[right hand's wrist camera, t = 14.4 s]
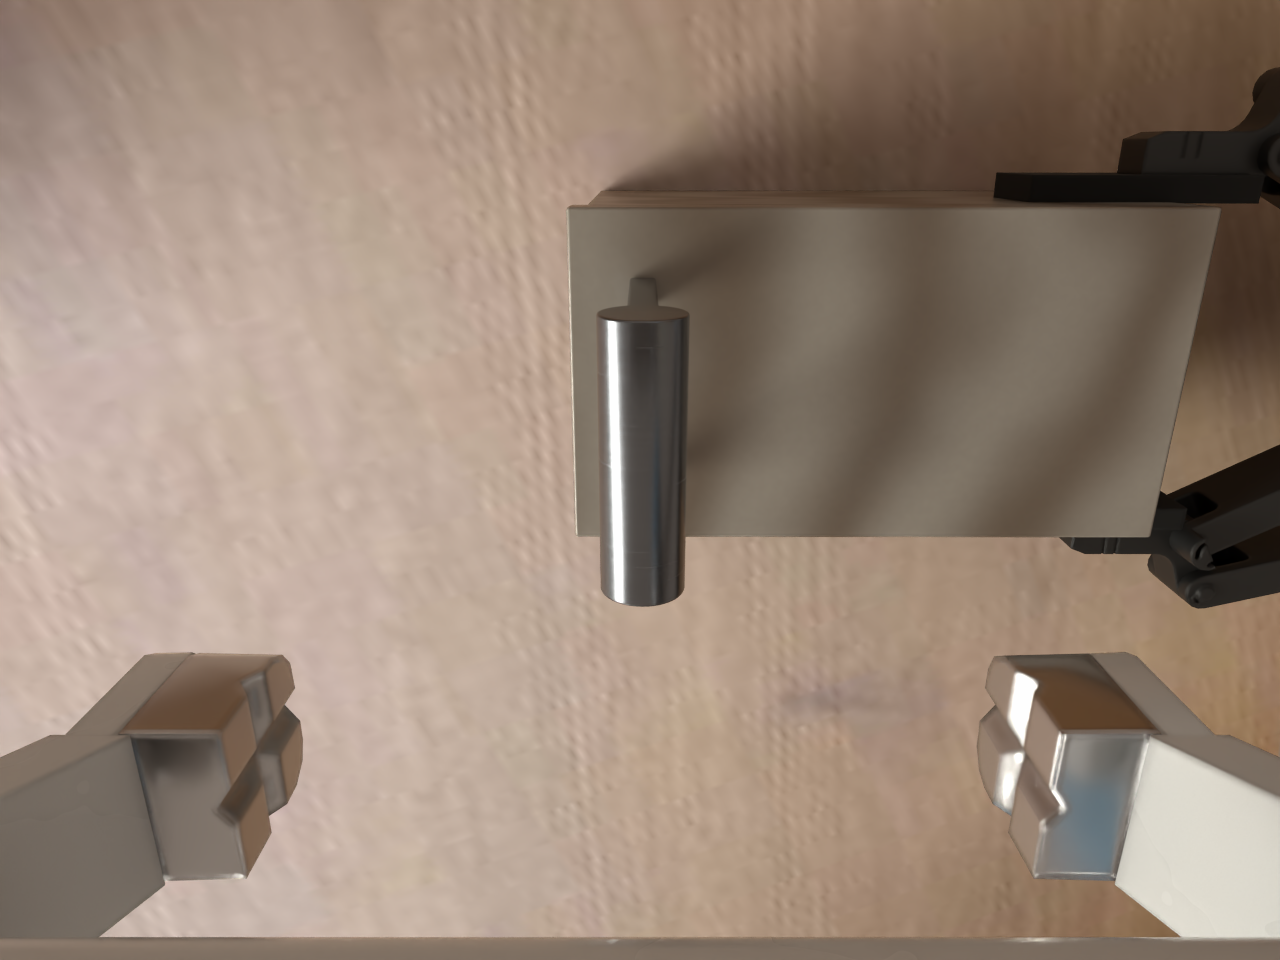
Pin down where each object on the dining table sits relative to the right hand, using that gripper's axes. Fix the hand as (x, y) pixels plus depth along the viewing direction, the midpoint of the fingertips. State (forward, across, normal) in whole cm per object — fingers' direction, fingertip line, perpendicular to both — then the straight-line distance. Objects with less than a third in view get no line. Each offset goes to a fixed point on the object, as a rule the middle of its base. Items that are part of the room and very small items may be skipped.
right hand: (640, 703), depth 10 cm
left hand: (+19, +11, 0) cm, 22 cm away
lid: (+16, +7, 0) cm, 17 cm away
